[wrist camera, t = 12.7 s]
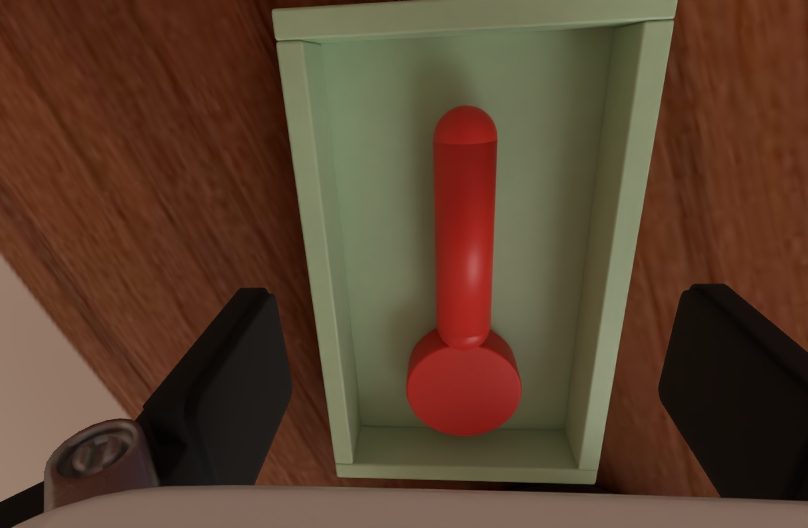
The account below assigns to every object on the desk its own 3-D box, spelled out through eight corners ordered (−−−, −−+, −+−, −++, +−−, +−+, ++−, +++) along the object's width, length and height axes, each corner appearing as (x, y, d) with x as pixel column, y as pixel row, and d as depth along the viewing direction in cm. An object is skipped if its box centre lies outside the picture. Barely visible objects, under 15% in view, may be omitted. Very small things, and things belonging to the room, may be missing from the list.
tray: (299, 18, 13) (270, 8, 11) (637, -2, 12) (681, -17, 10) (348, 429, 19) (336, 478, 17) (576, 433, 18) (596, 485, 16)
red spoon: (395, 105, 13) (389, 111, 12) (533, 100, 13) (547, 104, 11) (410, 409, 18) (407, 444, 16) (513, 411, 18) (520, 446, 16)
